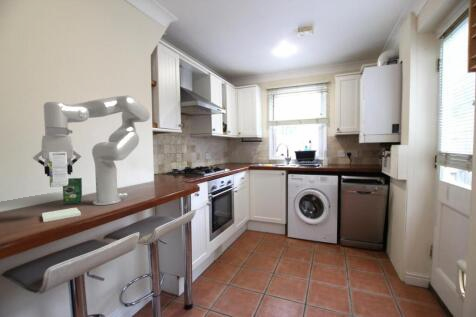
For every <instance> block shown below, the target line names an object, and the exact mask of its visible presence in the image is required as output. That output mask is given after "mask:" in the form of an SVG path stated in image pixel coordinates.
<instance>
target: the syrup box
mask: <svg viewBox="0 0 476 317" xmlns="http://www.w3.org/2000/svg"><path fill="white" fill-rule="evenodd" d="M68 164H69V163H68V162H67V155H66V152H49V164H48V166H49V174H50V176H49V187H50V188H55V187H56V188H57V187H63V186H67V185H68V178H69V174H68Z"/></svg>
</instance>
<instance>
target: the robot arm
mask: <svg viewBox="0 0 476 317" xmlns="http://www.w3.org/2000/svg"><path fill="white" fill-rule="evenodd" d="M119 113H121V121H122V122H121V126H119V127H118V128H117V129H116V130H114V132H112V133H111V134H110V135H109V137H108V141H105V142H103V141H101V142H98V143H96V144H94V145H93V147H92V148H91V149H92V150H91V151H92V152H91V154H92V158H93V162H94V169H95V170H94V172H95V191H96V192H95V193H96V194H95V195H96V200H95V199H94V200H93V202H92V204H93V205H95V206H107V205H113V204H114V205H115V204H117V203H120V202H121V201H122V198H123V197H124V198H125V197H128V192H118V175H117V173H118V172H117V166H116V163H115V162H117V161H123V160H125V159H126V158H127V157H128V156H129V155H130V154H131V153H132V152H133V151H134V150H135V149H136V148H137V147H138V145H139V143H140V136H139V134H138V133H137V128H136V125H135V123H145V122H147V121H149V119H150V118H151V117H150V116H151V115H150V112H149V110H148V109H147V107H146V106H144V104H142V103H141V102H140V101H139V100H137V99H136V98H134V97H133V96H131V95H119V96H117V95H116V96H111V97H105V98H104V97H103V98H101V99H94V100H88V101H85V102H79V103H73V104H67V103H66V104H65V103H62V102H59V101H58V102H57V101H47V102H45V103H44V104H43V119H44V134H45V135H42V137H41V150H40V151H39V152H38V153H36V154H35V155H34V156H33V157H32V159H33V160H34V161H36V162H37V163H39V164H40V165H42V166H43V167H44V175H46V176H47V177H50V174H49V152H66V155H67V162H68V176H69V175H70V176H72V173H73V165H74V164H75V163H77V161H78V160H80V158H82V156H81V155H80V154H79V153H78V152H76V151H75V150H74V148H73V146H74V145H73V140H72V138H71V136H70V135H69V134H73V130H72V129H71V130H70V129H69V123H70V124H71V123H83V122H85V121H87V120H88V119H93V118H103V117H106V116H110V115H113V114H119ZM74 156H75V157H74ZM40 157H41V158H42V159H44V160H45V161H43V160H42V159H40Z"/></svg>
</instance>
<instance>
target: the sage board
mask: <svg viewBox="0 0 476 317" xmlns="http://www.w3.org/2000/svg"><path fill="white" fill-rule="evenodd" d="M79 216H82V213H81V211H80V210H79V209H78V207H72V208H65V209H59V210H54V211H48V212H47V211H46V212H41V217H42V221H43V222H44V223H45V222H53V221H58V220H62V219H66V218H67V219H69V218H72V217H79Z"/></svg>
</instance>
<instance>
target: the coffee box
mask: <svg viewBox="0 0 476 317" xmlns="http://www.w3.org/2000/svg"><path fill="white" fill-rule="evenodd" d="M82 180H83V178H82V177H74V178H73V177H71V178H69V177H68V185H67V186H62V203H63V205H68V204H69V205H70V204H80V203H82V202H83V185H82V184H83V181H82Z"/></svg>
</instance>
